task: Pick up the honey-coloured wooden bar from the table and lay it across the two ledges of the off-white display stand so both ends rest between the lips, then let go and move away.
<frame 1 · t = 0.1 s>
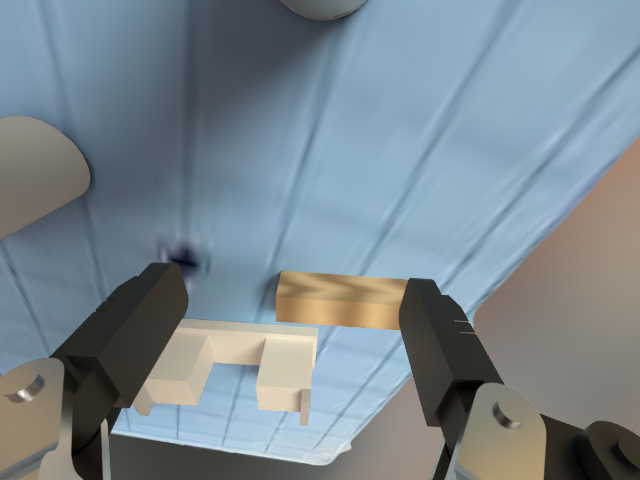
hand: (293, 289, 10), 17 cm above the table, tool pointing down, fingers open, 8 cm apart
bar: (346, 286, 33), on the table
display stand: (242, 339, 40), on the table
can: (55, 156, 25), on the table
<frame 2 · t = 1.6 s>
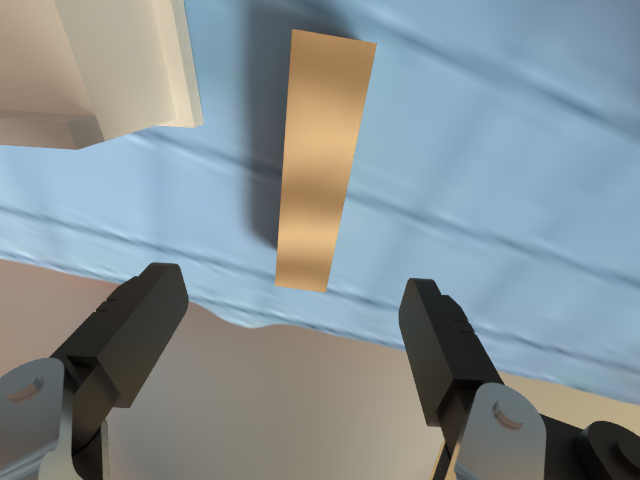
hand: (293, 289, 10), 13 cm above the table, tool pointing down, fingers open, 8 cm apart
bar: (316, 171, 21), on the table
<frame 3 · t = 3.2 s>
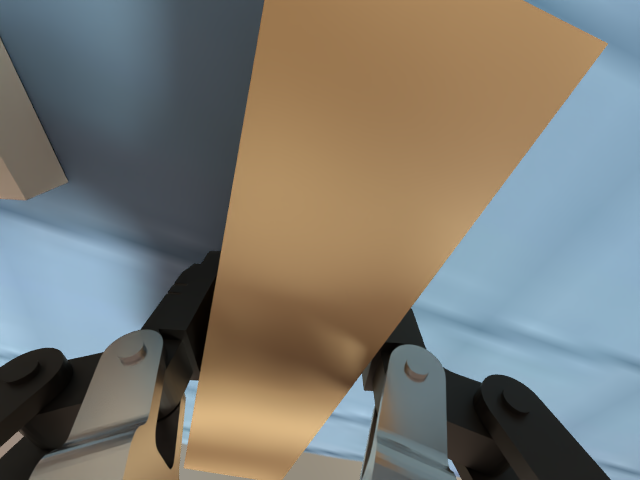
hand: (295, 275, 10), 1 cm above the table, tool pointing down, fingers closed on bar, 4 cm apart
bar: (297, 265, 11), on the table, touching gripper
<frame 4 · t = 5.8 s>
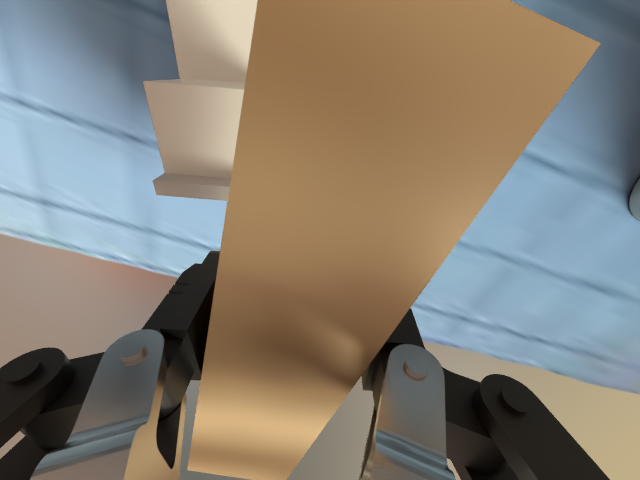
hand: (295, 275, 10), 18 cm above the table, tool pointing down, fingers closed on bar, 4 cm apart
bar: (297, 266, 11), point 17 cm above the table, touching gripper
display stand: (231, 19, 20), on the table
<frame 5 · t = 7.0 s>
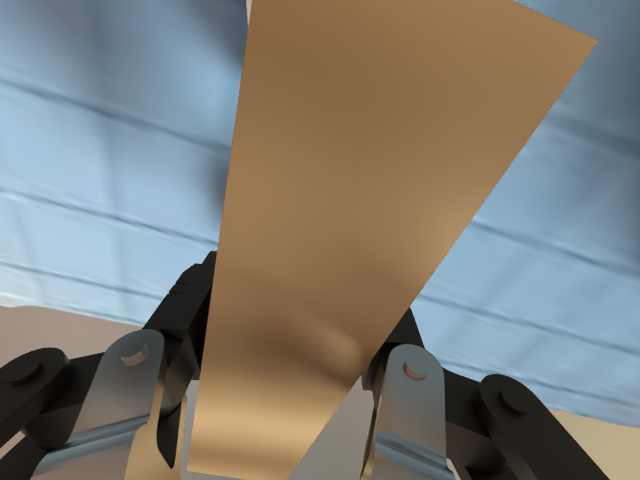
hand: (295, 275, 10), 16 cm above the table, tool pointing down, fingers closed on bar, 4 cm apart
bar: (297, 266, 11), point 15 cm above the table, touching gripper
when the fingers open (10 cm above the table, at t = 8.3 s): bar drops 1 cm, resting on display stand.
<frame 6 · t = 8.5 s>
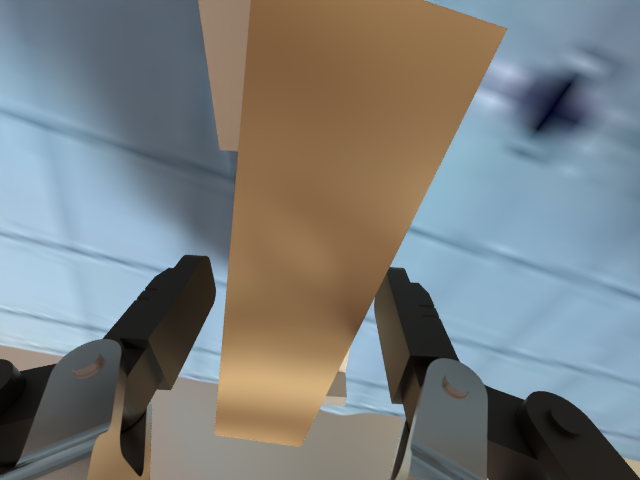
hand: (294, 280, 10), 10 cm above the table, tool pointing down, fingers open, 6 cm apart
bar: (302, 247, 12), point 8 cm above the table, touching display stand
display stand: (310, 182, 19), on the table
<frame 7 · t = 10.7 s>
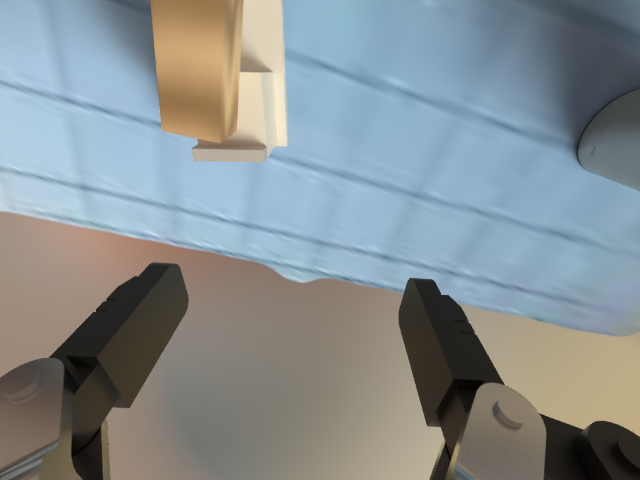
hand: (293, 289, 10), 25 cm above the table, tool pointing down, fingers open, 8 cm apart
bar: (213, 5, 19), point 8 cm above the table, touching display stand
display stand: (241, 21, 25), on the table
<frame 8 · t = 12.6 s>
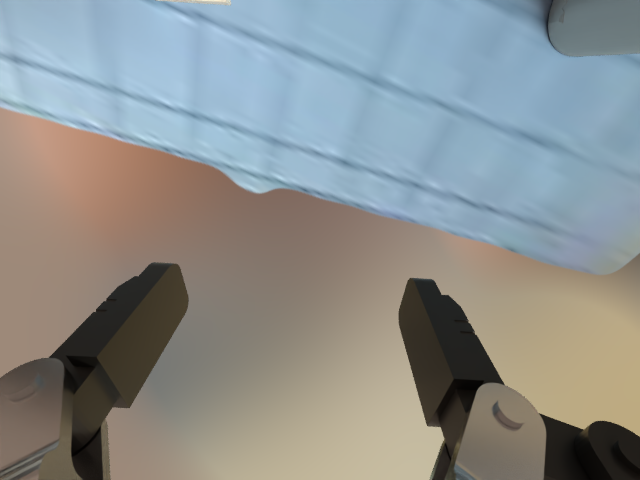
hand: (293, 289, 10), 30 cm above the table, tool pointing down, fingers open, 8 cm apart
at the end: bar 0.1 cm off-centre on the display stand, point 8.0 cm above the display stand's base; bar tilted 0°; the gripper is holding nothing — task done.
